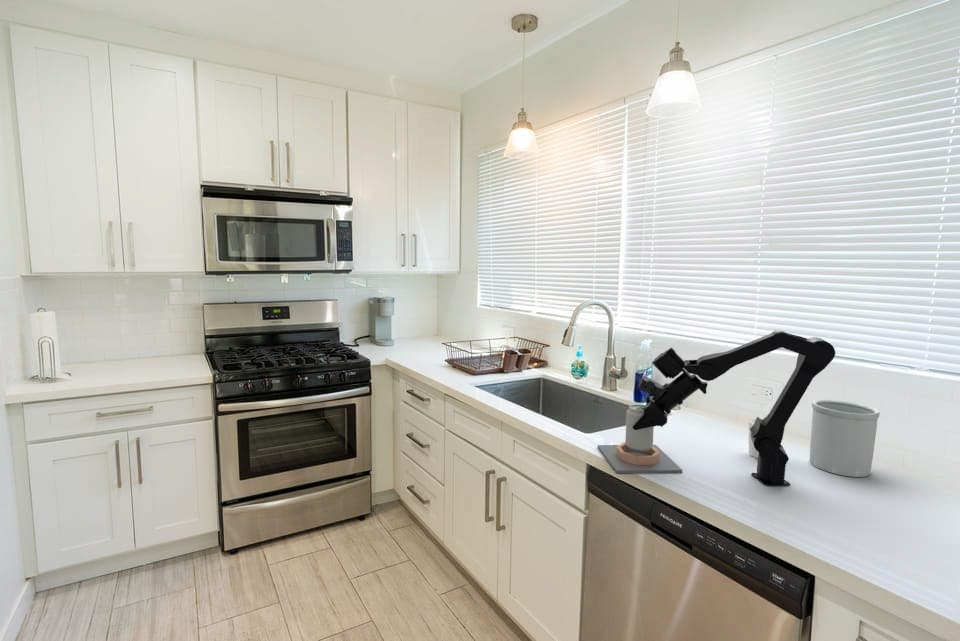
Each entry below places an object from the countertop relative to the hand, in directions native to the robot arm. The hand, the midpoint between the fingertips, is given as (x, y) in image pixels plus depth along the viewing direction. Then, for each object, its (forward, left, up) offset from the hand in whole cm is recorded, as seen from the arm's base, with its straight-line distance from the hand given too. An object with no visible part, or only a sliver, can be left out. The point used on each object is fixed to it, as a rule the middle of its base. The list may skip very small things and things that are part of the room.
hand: (634, 424), depth 137 cm
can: (-1, -1, -7) cm, 7 cm away
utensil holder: (-6, -56, -11) cm, 57 cm away
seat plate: (0, -1, -10) cm, 10 cm away
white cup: (+2, -39, -10) cm, 40 cm away
